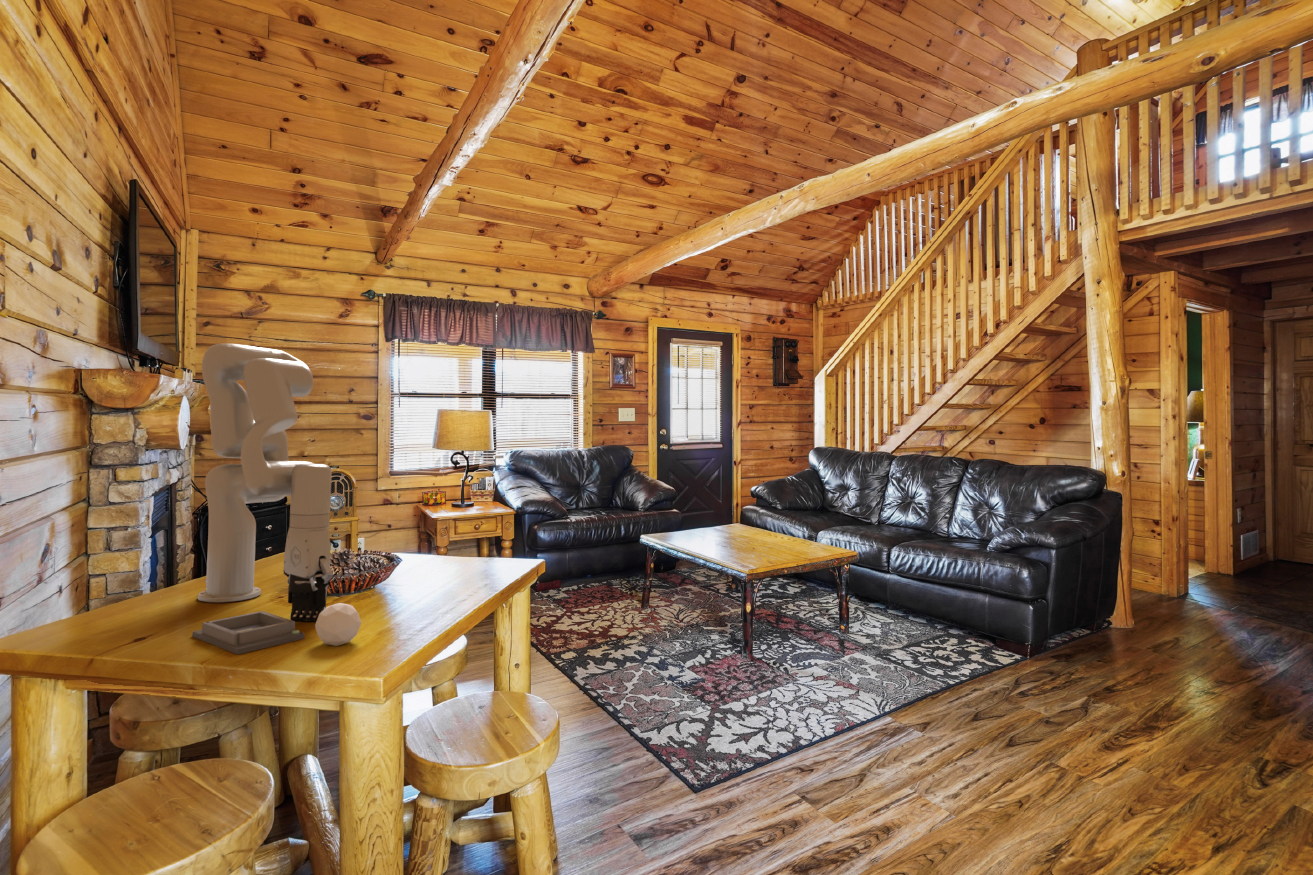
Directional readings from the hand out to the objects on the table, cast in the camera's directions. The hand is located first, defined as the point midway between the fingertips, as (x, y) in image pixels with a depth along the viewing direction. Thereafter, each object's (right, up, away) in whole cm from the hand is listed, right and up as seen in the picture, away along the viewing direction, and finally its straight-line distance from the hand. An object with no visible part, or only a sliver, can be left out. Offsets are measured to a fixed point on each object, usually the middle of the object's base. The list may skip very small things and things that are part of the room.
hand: (306, 604), depth 138 cm
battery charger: (0, -4, 0) cm, 4 cm away
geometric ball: (+14, -4, -14) cm, 20 cm away
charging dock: (-4, -3, -13) cm, 14 cm away
